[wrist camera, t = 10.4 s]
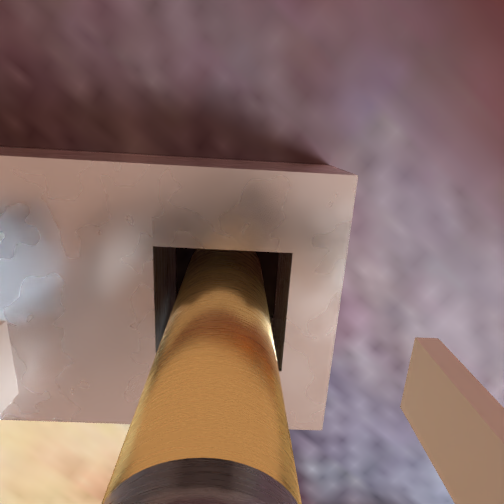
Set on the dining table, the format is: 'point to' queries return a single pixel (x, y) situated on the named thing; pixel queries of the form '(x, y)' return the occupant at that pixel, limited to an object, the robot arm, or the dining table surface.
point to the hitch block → (157, 269)
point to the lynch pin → (211, 398)
